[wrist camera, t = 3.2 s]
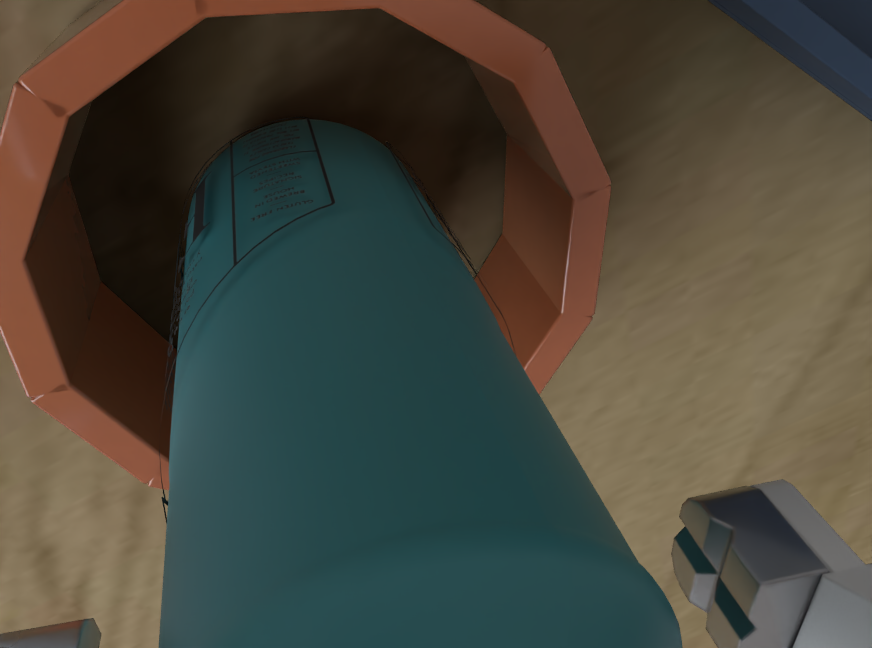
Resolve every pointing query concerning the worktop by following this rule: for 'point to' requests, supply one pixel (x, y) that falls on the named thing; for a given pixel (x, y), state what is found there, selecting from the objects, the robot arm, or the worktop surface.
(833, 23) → the tray
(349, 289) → the beverage bottle
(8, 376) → the worktop surface
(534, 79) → the bowl
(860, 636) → the robot arm
